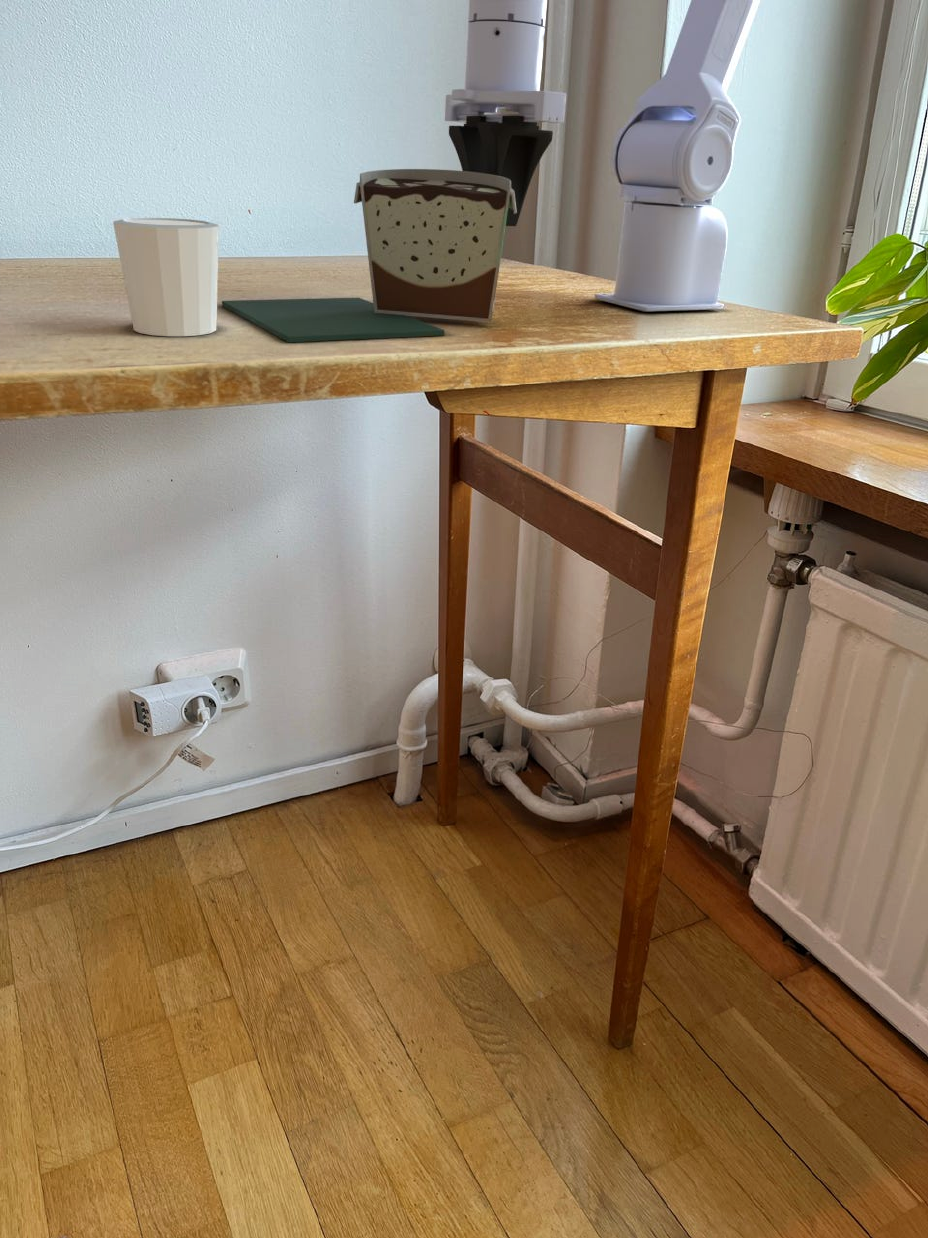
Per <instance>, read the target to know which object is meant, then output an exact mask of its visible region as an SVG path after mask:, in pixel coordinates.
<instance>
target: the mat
mask: <svg viewBox="0 0 928 1238" xmlns="http://www.w3.org/2000/svg"><path fill="white" fill-rule="evenodd" d="M221 306H222V307H224V308H225V309H227V310H229V311H231V312H232V313H235V314H236V315H238V316H240V317H241V318H243V319H245V320H247V321H248V322H251V323H253V324H254V325H255V326H258V327H259V328H261V329H263V330H265V331H266V332H269V333H270V334H273V336H276V337H278V338H279V339H281V340H283V341H285V342H287V343H306V342H307V343H308V342H329V341H330V342H331V341H332V342H333V341H350V340H351V341H355V340H375V339H376V340H377V339H396V338H419V337H420V338H421V337H441V336H445V329H443V328H440V327H437V326H435V325H432V324H430V323H427V322H424V321H422V320H419V319H416V318H414V317H412V316H406V315H397V314H385V313H374V304H373V301H372V302H371V301H369V300H366V299H364V298H361V297H324V298H321V297H320V298H284V299H283V298H282V299H281V298H280V299H240V300H239V299H238V300H237V299H235V300H222V301H221Z"/></svg>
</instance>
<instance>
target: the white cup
mask: <svg viewBox="0 0 928 1238" xmlns="http://www.w3.org/2000/svg"><path fill="white" fill-rule="evenodd" d="M112 224H113V229H114V235H115V239H116V244H117V250H118V256H119V260H120V266H121V270H122V271H121V272H122V276H123V283H124V286H125V291H126V296H127V302H128V308H129V312H130V317H131V322H132V327H133V328H132V329H133V331H135V332H137V333H139V334H144V335H148V336H159V337H194V336H203V335H209V334H212V333H214V332H216V331H217V322H218V321H217V316H218V280H219V279H218V277H219V238H220V226H219V224H218V223H214V222H210V221H205V220H198V219H190V218H189V219H188V218H172V217H171V218H170V217H133V218H132V217H131V218H124V219H117V220H113V222H112Z"/></svg>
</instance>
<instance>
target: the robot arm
mask: <svg viewBox="0 0 928 1238" xmlns="http://www.w3.org/2000/svg"><path fill="white" fill-rule="evenodd" d="M760 1H761V0H690V3H689V5H688V8H687V12H686V14H685V16H684V17H685V18H684V20H683V23H682V26H681V29H680V31H679V34H678V37H677V40H676V42H675V46H674V48H673V51H672V54H671V56H670V59H669V63H668V65H667V68H666V71H665V73H664V75H663V76H662V77H661V78H660V79H659V80H658V81H656V83H654V84H653V85H652V86H651V87H649V88H648V89H646V91H645V92H644V93H642V95H640V97H638V98H637V100H636V104H635V106H634V108H633V112H632V114H631V116H630V118H629V119H628V120H627V122H626V123H625V124H624V126H623V127H622V128H621V129H620V130H619V132H618V133H617V135H616V137H615V139H614V141H613V144H612V149H611V156H610V167H611V173H612V177H613V179H614V182H615V184H616V185H617V187H618V188H619V189H620V194H619V199H621V200H625V201H624V205H623V206H624V207H623V214H622V222H621V231H620V239H619V247H618V255H617V256H618V257H617V263H616V264H617V265H616V273H615V283H614V290H613V293H595V294H594V296H593V299H594V300H597V301H602V302H605V303H610V304H613V305H616V306H621V307H625V308H628V309H633V310H636V311H640V312H648V313H649V312H650V313H651V312H674V311H675V312H676V311H678V312H679V311H699V310H700V311H702V310H703V311H704V310H722V309H723V308H724V304H723V303H721V302H718V301H719V295H720V288H721V282H722V276H723V270H724V263H725V258H726V252H727V245H728V237H729V236H728V235H729V234H728V225H727V221H726V218H725V217H724V215H723V213H722V212H721V211H720V210H719V209H718V208H716V207H714V206H713V200H714V197H715V196H716V195H718V193H719V192H720V191H721V190H722V189H723V188H724V186H725V185H726V183H727V181H728V178H729V176H730V173H731V170H732V166H733V161H734V148H735V142H736V137H737V133H738V130H739V127H740V125H741V123H742V118H741V116H740V113H739V112H738V110H737V108H736V106H735V105H734V103H733V102H732V100H731V99H730V96H729V95H728V94H727V90H728V88H729V85H730V82H731V80H732V77H733V74H734V71H735V69H736V66H737V64H738V60H739V58H740V55H741V52H742V50H743V47H744V45H745V42H746V39H747V37H748V34H749V31H750V28H751V26H752V23H753V20H754V17H755V14H756V12H757V9H758V6H759V4H760ZM547 5H548V0H469V1H468V18H467V19H468V21H467V22H468V24H467V41H466V57H465V58H466V59H465V60H466V62H465V80H464V88H460V89H459V88H457V89H455V88H454V89H452V90H451V94H446V95H445V106H444V108H445V110H444V121H445V122H449V123H450V122H451V123H453V122H454V123H455V122H456V123H462V124H463V125H448V136H449V137H450V140H451V142H452V145H453V147H454V149H455V152H456V154H457V157H458V160H459V164H460V167H461V171H468V172H477V173H485V174H491V175H497V176H501V177H505V178H508V179H510V180H511V189H513V190H514V193H515V201H516V210H517V212H516V214H514V210H512V209H511V208H508V214H507V220H506V227H517V225H518V222H519V219H520V216H521V213H522V210H523V206H524V202H525V199H526V197H527V196H526V195H527V192H528V190H529V188H530V184H531V181H532V179H533V176H534V173H535V172H536V169H537V167H538V165H539V163H540V161H541V159H542V157H543V156H544V154H545V153H546V150H548V147H549V146H550V145H551V143H552V141H553V135H554V131H553V130H547V129H540V126H539V125H538V123H550V124H564V123H565V113H566V103H567V93H566V92H560V91H549V90H541V80H542V67H543V56H544V55H543V54H544V44H545V43H544V42H545V29H546V20H547V19H546V18H547V7H548V6H547ZM498 109H504V110H505V111H506V112H514V113H511V114H506V113H503V114H497V113H498ZM485 113H487V114H485Z"/></svg>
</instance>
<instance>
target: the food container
mask: <svg viewBox="0 0 928 1238" xmlns="http://www.w3.org/2000/svg"><path fill="white" fill-rule="evenodd" d="M359 203H361V206H362V215H363V224H364V231H365V241H366V250H367V258H368V269H369V276H370V278H369V279H370V285H371V295H372V303H373V304H374V313H385V314H397V315H406V316H409V317H419V318H420V317H422V318H432V319H434V318H435V319H443V320H444V319H446V320H456V321H457V320H458V321H469V322H482V323H492V320H493V313H494V307H495V300H496V294H497V287H498V279H499V273H500V266H501V261H502V260H501V259H502V253H503V248H504V247H503V246H504V240H505V232H506V227H507V226H506V220H507V214H508V208H511V209H512V210H514V214H516V212H517V210H516V201H515V193H514V190H513V189H511V180H510V179H508V178H505V177H501V176H497V175H491V174H485V173H477V172H468V171H462V170H456V169H454V170H453V169H439V168H438V169H432V168H395V169H378V170H377V169H376V170H369V171H365V172H360V173H359V182H356V185H355V192H354V199H353V204H359Z"/></svg>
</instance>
